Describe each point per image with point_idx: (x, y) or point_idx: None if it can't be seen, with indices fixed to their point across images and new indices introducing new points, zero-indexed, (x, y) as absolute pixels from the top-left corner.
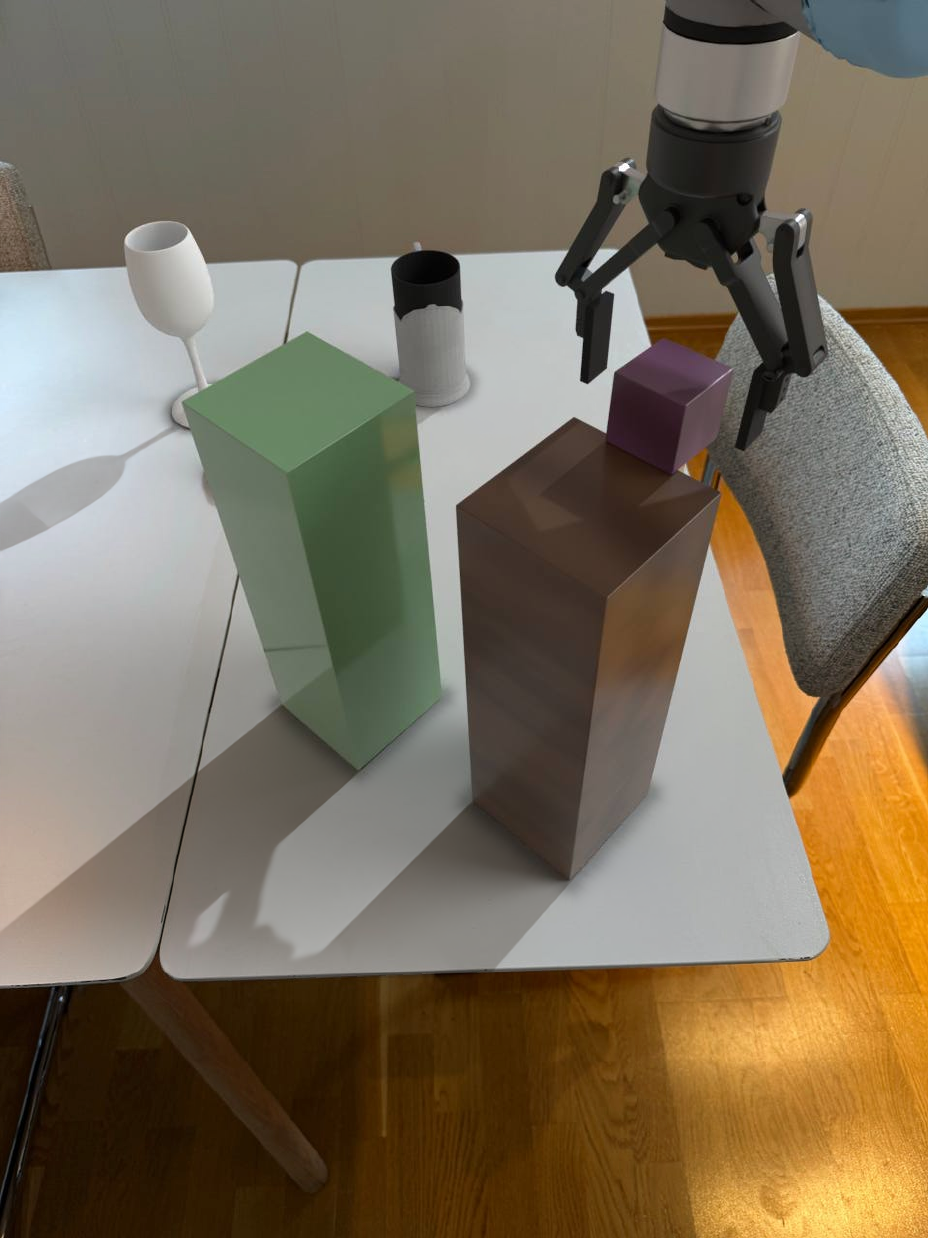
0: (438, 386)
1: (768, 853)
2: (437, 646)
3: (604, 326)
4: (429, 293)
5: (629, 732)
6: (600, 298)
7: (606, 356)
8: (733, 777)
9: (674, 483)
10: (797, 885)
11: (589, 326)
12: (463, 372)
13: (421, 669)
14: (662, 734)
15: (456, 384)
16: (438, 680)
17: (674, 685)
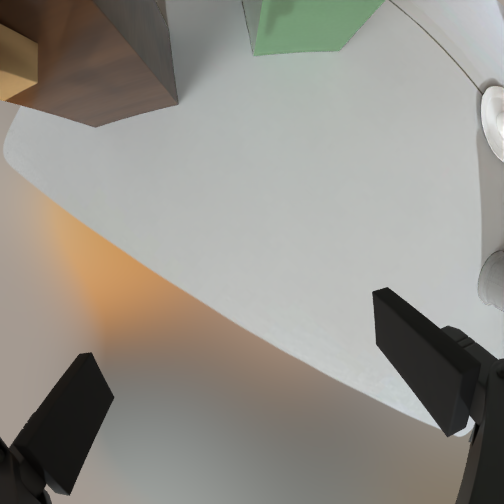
0: (494, 273)
1: (33, 166)
2: (258, 28)
3: (420, 378)
4: None
5: None
6: (465, 406)
7: (386, 352)
8: (71, 184)
9: None
10: (17, 167)
11: (441, 344)
12: (490, 298)
13: (253, 17)
14: (57, 115)
15: (487, 287)
16: (254, 44)
17: (18, 104)
